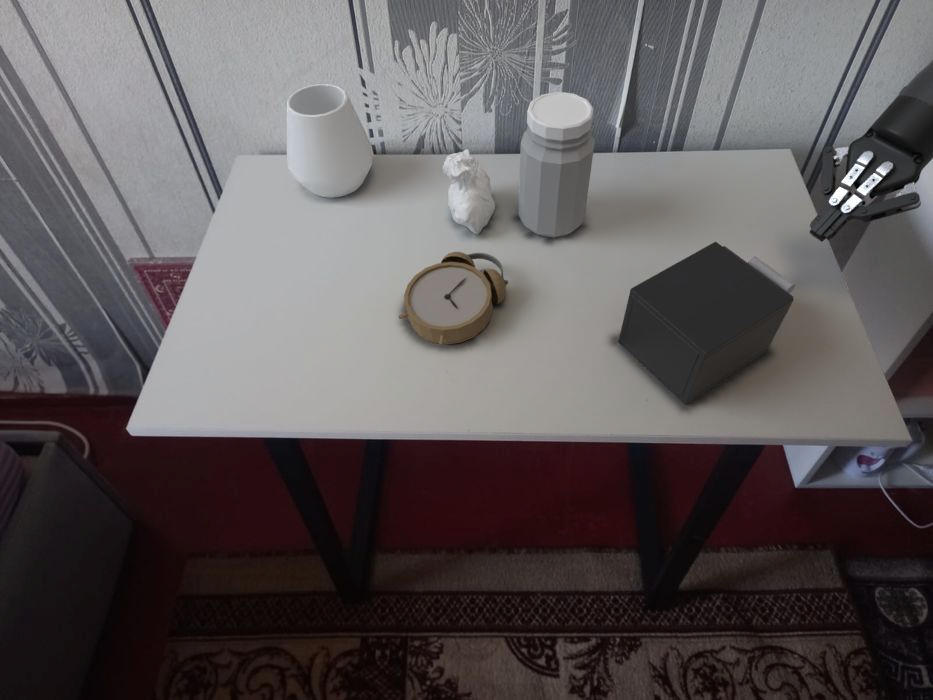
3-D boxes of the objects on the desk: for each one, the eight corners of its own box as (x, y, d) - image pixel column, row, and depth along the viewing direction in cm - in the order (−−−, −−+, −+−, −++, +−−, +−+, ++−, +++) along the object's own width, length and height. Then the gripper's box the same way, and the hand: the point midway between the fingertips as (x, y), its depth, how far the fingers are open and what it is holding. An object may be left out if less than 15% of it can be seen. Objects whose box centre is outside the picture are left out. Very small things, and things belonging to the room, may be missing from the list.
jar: (588, 240, 93) (604, 129, 79) (519, 242, 94) (523, 132, 80) (580, 197, 99) (594, 86, 85) (516, 198, 100) (519, 89, 86)
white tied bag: (476, 201, 103) (429, 149, 97) (515, 179, 99) (468, 124, 93) (463, 253, 96) (411, 200, 90) (504, 232, 91) (452, 176, 85)
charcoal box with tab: (696, 295, 86) (715, 241, 79) (766, 352, 80) (794, 299, 72) (618, 341, 82) (630, 288, 74) (685, 405, 76) (706, 354, 68)
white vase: (276, 183, 104) (250, 103, 93) (339, 144, 110) (322, 65, 99) (331, 218, 98) (310, 137, 88) (395, 175, 104) (383, 95, 93)
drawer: (731, 276, 87) (749, 231, 81) (795, 324, 81) (819, 281, 75) (636, 331, 82) (647, 288, 75) (697, 388, 76) (715, 346, 70)
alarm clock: (384, 304, 83) (458, 226, 88) (393, 324, 87) (463, 249, 92) (450, 346, 78) (525, 262, 83) (457, 366, 83) (527, 285, 87)
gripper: (984, 152, 74) (867, 274, 79) (880, 101, 81) (779, 217, 86) (985, 126, 68) (858, 260, 73) (872, 73, 75) (764, 199, 80)
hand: (815, 236), depth 80 cm, fingers closed
